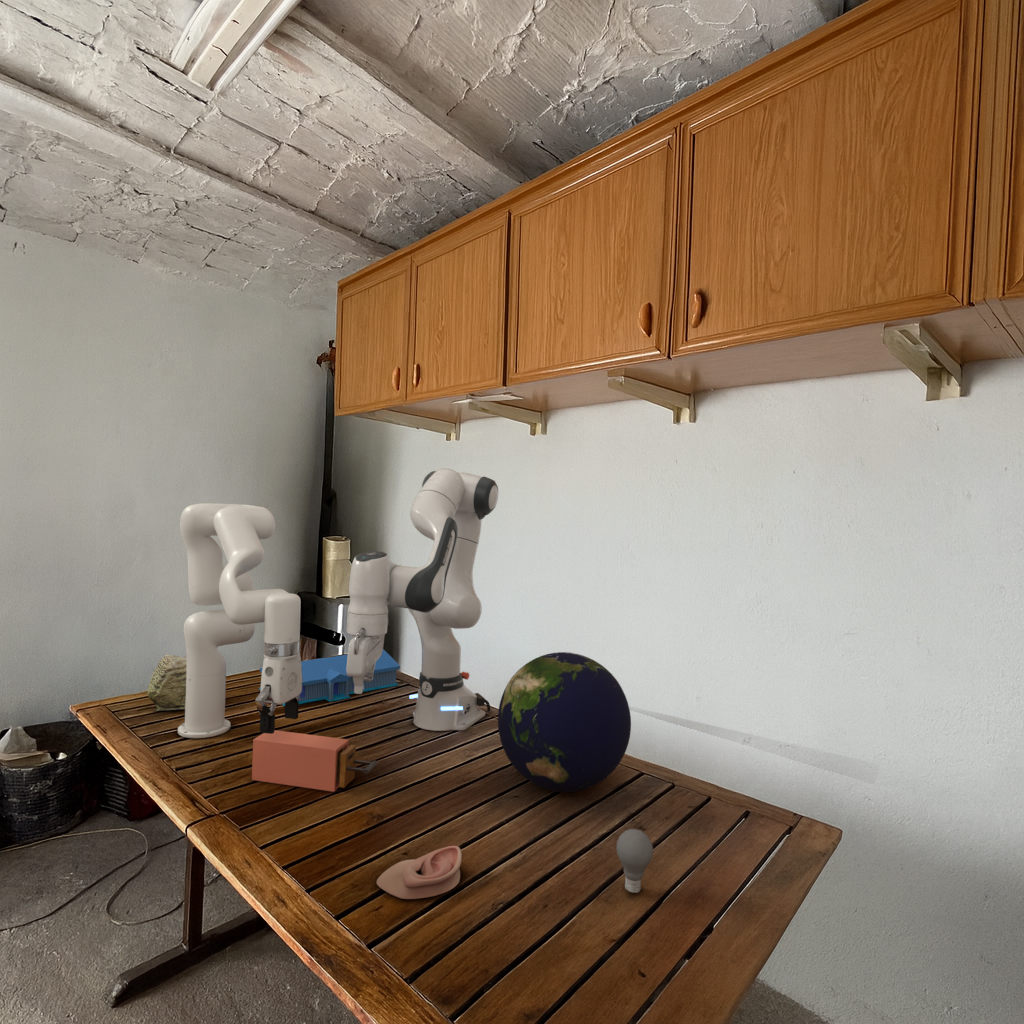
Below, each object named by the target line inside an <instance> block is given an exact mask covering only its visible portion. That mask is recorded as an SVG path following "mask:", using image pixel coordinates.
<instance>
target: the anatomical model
mask: <svg viewBox="0 0 1024 1024" xmlns="http://www.w3.org/2000/svg"><path fill="white" fill-rule="evenodd" d="M462 859H463V855H462V850H461V847H459V846H457V845H449V846H445V847H441V848H438V849H436V850H433V851H430V852H428V853H426V854H424V855H422V856H420V857H417V858H413V859H412V858H411V859H404V860H401V861H399V862H397V863H395V864H393V865H391V866H390V867H388V868H387V869H386V870H384V871H383V872H382V873H381V875H379V876H378V878H377V879H376V885H377V887H379V888H380V889H381V890H383V891H384V892H386V893H387V894H389V895H391V896H393V897H396V898H399V899H401V900H417V899H424V898H430V897H435V896H438V895H442V894H444V893H445V894H446V893H447V892H449V891H451V890H452V889H454V888H455V887H456V886H457V885H458V884H459V883H460V880H461V870H460V867H461V865H462Z"/></svg>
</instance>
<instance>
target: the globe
mask: <svg viewBox="0 0 1024 1024" xmlns="http://www.w3.org/2000/svg"><path fill="white" fill-rule="evenodd" d="M497 712H498V713H497V730H498V735H499V740H500V743H501V746H502V749H503V751H504V753H505V756H506V757H507V759H508V761H509V762H510V764H511V765H512V766H513V768H515V770H516V771H517V772H518V773H519V774H520V775H521V776H522V777H524V778H525V779H526V780H527V781H529V782H530V783H532V784H533V785H534V786H535V785H536V786H538V787H540V788H542V789H545V790H547V791H551V792H557V793H574V792H581V791H584V790H587V789H591V788H593V787H594V786H597V785H598V784H600V783H601V782H603V781H604V780H605V779H607V778H608V777H609V776H610V775H611V774H612V773H613V772H614V771H615V770H616V768H617V767H618V766H619V765H620V763H621V762H622V760H623V758H624V756H625V754H626V751H627V749H628V745H629V742H630V738H631V731H632V730H631V729H632V717H631V710H630V705H629V702H628V698H627V697H626V694H625V692H624V690H623V687H622V686H621V684H620V683H619V681H618V680H617V678H616V677H615V676H614V675H613V673H612V672H610V671H609V669H607V668H606V667H605V666H604V665H602V664H601V663H600V662H598V661H596V660H594V659H592V658H590V657H588V656H586V655H582V654H579V653H575V652H570V651H561V652H559V651H558V652H551V653H547V654H543V655H540V656H538V657H536V658H534V659H532V660H529V661H528V662H527V663H525V664H524V665H523V666H521V667H520V668H519V669H518V670H517V671H516V672H514V674H513V676H512V677H511V678H510V679H509V681H508V682H507V684H506V686H505V688H504V691H503V692H502V696H501V698H500V701H499V705H498V711H497Z"/></svg>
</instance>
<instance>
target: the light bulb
mask: <svg viewBox="0 0 1024 1024" xmlns="http://www.w3.org/2000/svg"><path fill="white" fill-rule="evenodd" d="M615 849H616V854H617V857H618V859H619V861H620V863H621V865H622V867H623V873H624V874H623V875H624V876H625V878H624V888H625V890H627V891H628V892H630V893H634V894H635V893H639V892H640V891H641V889H642V887H641V886H642V879H643V877H644V875H645V871H646V868H647V867H648V866H649V864H650V863H651V861H652V859H653V855H654V847H653V843H652V841H651V838H649V836H648V835H647V834H646V833H645V832H643V831H642V830H641V829H636V828H629V829H627V830H625V831H623V832H622V833H621V834H620V835H619V837H618V839H617V841H616V847H615Z"/></svg>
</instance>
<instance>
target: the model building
mask: <svg viewBox="0 0 1024 1024" xmlns="http://www.w3.org/2000/svg"><path fill="white" fill-rule="evenodd" d="M347 657H348V654H342V655H341V654H340V655H335V656H329V657H328V656H327V657H321V658H315V659H314V658H313V659H307V660H301V667H302V678H303V682H302V692H301V693H300V695H299V696H300V700H299V705H302V704H307V703H312V702H317V701H323V700H325V701H327V702H329V703H330V702H335V701H341V700H346V699H347V700H348V699H350V698H351V695H353V694H355V693H354V682H353V677H350V676H347V672H346V668H347ZM262 668H263V667H260V668H259V672H260V673H262ZM400 669H401V665H400V664H399V663H398V662H397V661H396V660H395V659H394V658H393V657H392V656H391V654H389V653H388V652H387V651H386V650H385V649H384V648H383V651H382V654H381V656H380V658H379V659H378V660H377V661H376V665H375V669H374V674H373V680H372V681H371V682H366V681H365V680H364V681H363V684H364V691H363V692H362V693H364V692H365V693H366V692H369V691H373V690H381V689H385V688H390V687H391V688H392V687H395V686H399V683H398V682H397V670H400ZM258 690H260V691H261V686H260V687H258ZM281 706H283V707H285V703H284V704H281Z"/></svg>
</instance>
